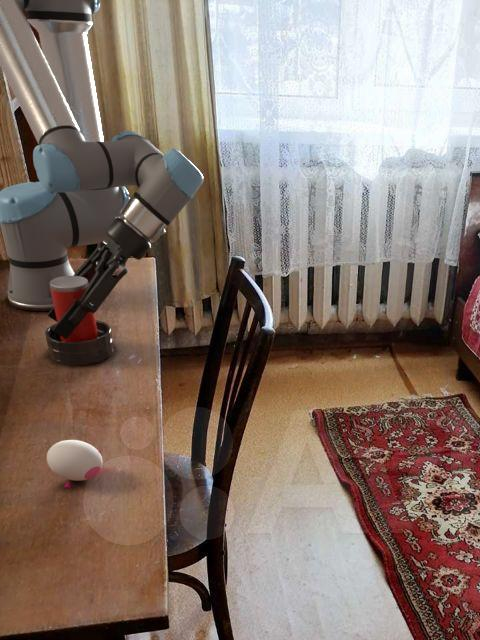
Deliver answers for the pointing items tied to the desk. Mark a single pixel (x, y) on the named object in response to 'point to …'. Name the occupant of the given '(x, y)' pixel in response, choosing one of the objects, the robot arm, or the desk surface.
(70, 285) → the tomato can
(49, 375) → the desk surface
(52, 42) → the robot arm
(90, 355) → the skillet
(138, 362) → the desk surface
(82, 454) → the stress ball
